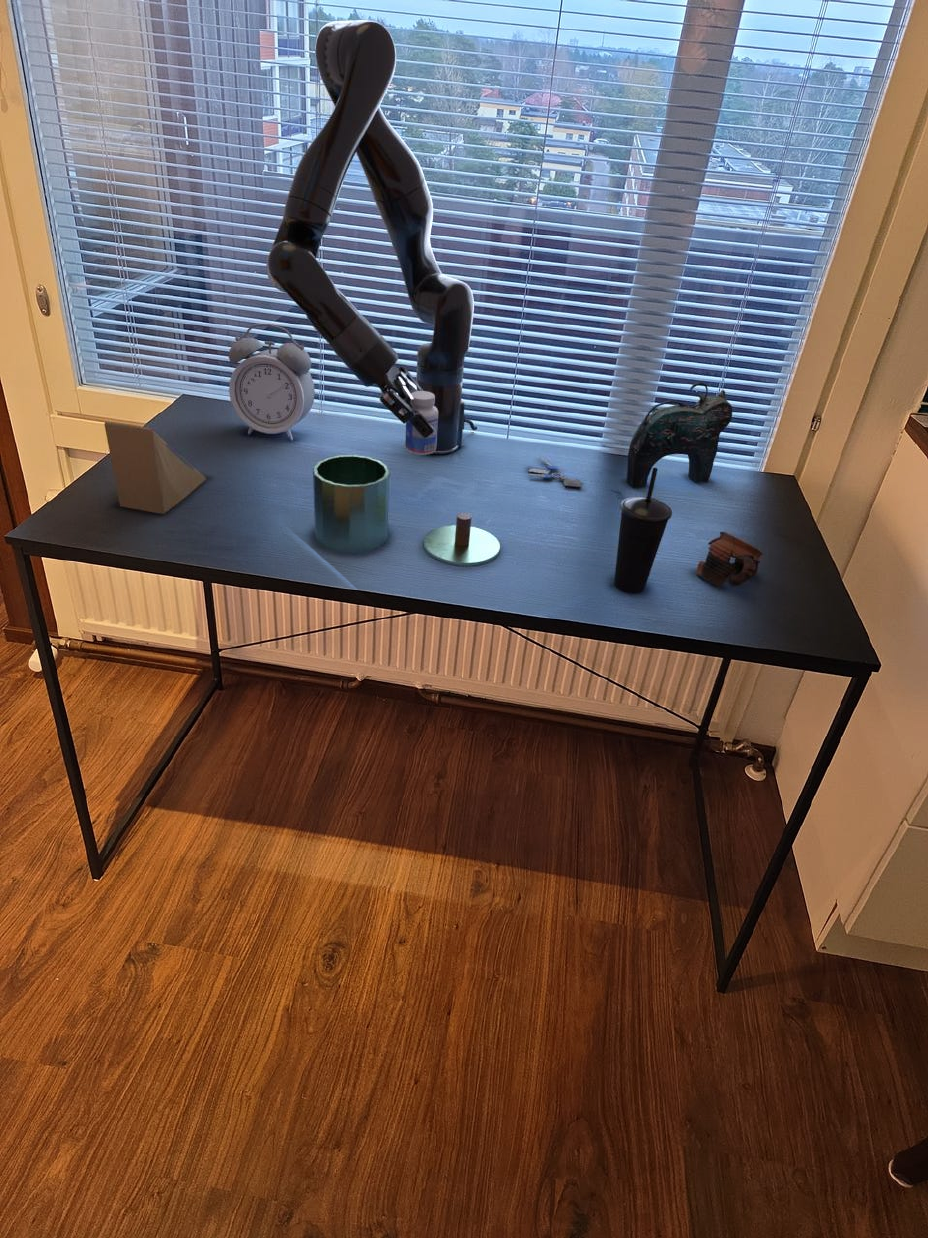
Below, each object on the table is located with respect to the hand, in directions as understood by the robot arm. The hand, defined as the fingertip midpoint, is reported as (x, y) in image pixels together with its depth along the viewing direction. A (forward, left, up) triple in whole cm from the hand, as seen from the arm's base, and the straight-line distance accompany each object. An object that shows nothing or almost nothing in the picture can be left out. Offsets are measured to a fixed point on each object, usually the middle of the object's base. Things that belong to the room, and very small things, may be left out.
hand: (432, 427), depth 140 cm
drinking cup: (-12, +39, -15) cm, 43 cm away
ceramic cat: (-49, +15, -15) cm, 53 cm away
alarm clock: (+9, -42, -15) cm, 46 cm away
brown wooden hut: (-28, +46, -15) cm, 56 cm away
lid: (+5, +16, -14) cm, 22 cm away
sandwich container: (+38, -26, -15) cm, 49 cm away
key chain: (-28, +2, -15) cm, 31 cm away
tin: (+18, +4, -15) cm, 24 cm away
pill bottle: (+1, -1, -4) cm, 5 cm away
